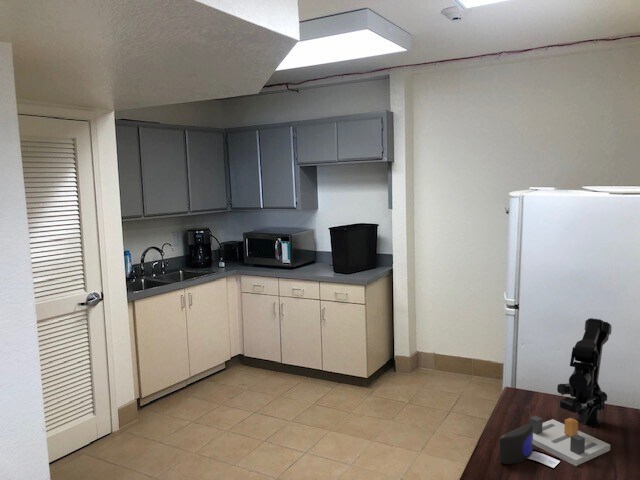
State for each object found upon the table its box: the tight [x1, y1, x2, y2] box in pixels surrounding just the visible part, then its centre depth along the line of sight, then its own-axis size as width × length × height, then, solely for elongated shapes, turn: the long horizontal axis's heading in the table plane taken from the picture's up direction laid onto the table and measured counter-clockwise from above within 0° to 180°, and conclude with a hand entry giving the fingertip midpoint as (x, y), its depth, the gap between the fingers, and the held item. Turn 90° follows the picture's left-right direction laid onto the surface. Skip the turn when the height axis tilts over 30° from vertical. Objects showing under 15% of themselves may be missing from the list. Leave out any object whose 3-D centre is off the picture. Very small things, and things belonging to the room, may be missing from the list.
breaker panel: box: [529, 415, 611, 467], centre depth 179 cm, size 18×22×7 cm
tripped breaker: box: [564, 417, 579, 436], centre depth 181 cm, size 3×3×5 cm
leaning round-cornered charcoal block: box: [498, 423, 534, 465], centre depth 171 cm, size 16×5×9 cm, turn 124°
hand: (582, 423), depth 184 cm, fingers closed
